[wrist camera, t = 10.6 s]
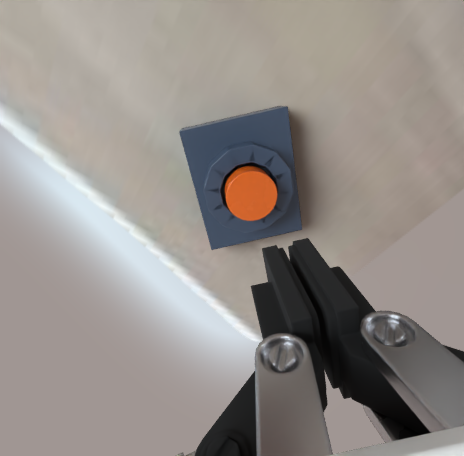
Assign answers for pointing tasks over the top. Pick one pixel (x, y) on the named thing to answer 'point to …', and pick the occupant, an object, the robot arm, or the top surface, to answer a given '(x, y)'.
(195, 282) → the top surface
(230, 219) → the button box
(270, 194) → the button
